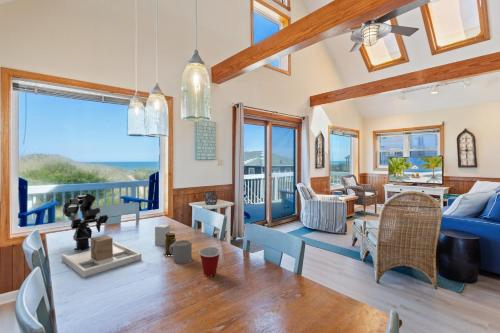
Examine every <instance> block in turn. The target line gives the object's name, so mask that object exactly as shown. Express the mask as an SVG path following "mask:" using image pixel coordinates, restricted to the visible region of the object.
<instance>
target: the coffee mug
mask: <svg viewBox="0 0 500 333" xmlns="http://www.w3.org/2000/svg"><path fill="white" fill-rule="evenodd" d="M192 244H193V243H192V241H191V240H190V239H179V240H176V242H174V244H172V245H171V246H170V253H171V254H172V255H174V256H173V262H174V263H175V264H180V263H181V264H186V263H185V262H187V263H190V262H191V261H192V260H191V259H192V255H193V254H192V252H193V251H192V247H193V246H192ZM172 247H173V250H172ZM190 260H191V261H190ZM189 261H190V262H189Z"/></svg>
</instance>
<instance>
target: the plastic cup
mask: <svg viewBox="0 0 500 333" xmlns="http://www.w3.org/2000/svg"><path fill="white" fill-rule="evenodd" d="M221 250H222V249H220V248H218V247H216V246H206V247H203V248H201V249H200V250H198V254H199V256H200V260H201V265H202V270H203V275H206V276H211V275H214V274H215V275H216V274H217V269H218V264H219V258H220V255H221V253H222V251H221ZM215 275H214V276H215ZM206 276H205V277H206Z"/></svg>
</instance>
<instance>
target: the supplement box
mask: <svg viewBox="0 0 500 333" xmlns="http://www.w3.org/2000/svg"><path fill="white" fill-rule="evenodd" d="M168 233H171V225H170V224H159V225H157V226H155V227H154V246H156V247H157V246H159V247H165V239H166V234H168Z"/></svg>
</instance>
